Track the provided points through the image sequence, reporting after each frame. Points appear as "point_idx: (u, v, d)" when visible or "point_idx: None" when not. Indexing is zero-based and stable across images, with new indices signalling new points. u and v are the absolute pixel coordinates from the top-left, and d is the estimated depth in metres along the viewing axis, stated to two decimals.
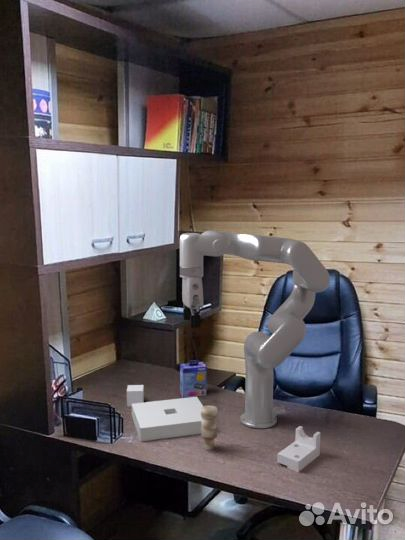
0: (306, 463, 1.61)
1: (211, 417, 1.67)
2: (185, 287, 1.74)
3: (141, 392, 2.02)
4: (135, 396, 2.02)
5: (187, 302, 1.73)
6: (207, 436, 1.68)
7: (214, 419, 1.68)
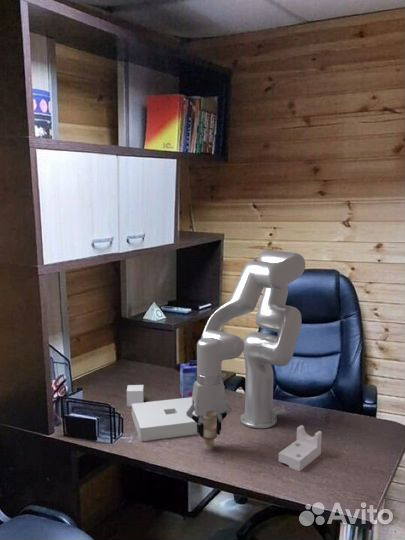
0: (307, 462, 1.61)
1: (211, 417, 1.67)
2: (216, 395, 1.66)
3: (141, 392, 2.02)
4: (135, 396, 2.02)
5: (220, 408, 1.68)
6: (207, 436, 1.68)
7: (214, 419, 1.68)
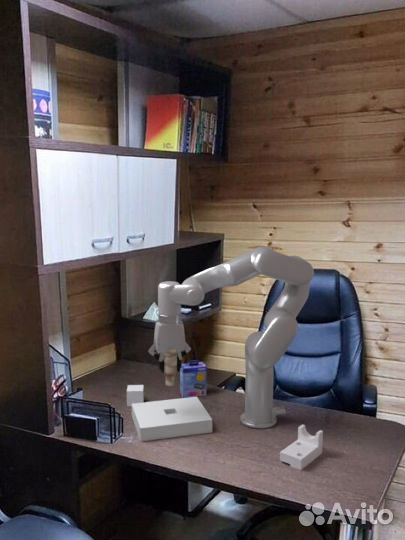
0: (309, 461, 1.62)
1: (171, 355, 1.81)
2: (176, 333, 1.81)
3: (141, 392, 2.02)
4: (135, 396, 2.02)
5: (180, 346, 1.82)
6: (168, 372, 1.83)
7: (174, 356, 1.82)
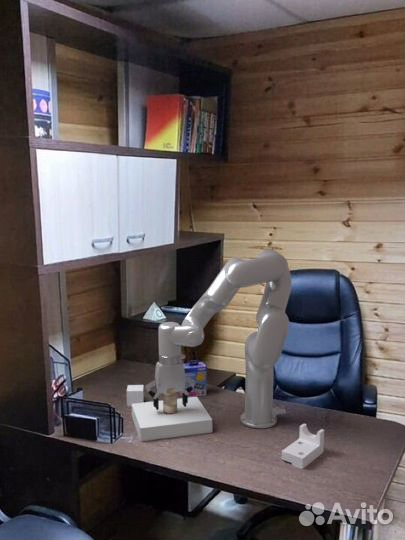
0: (310, 460, 1.62)
1: (171, 394, 1.84)
2: (176, 374, 1.83)
3: (141, 392, 2.02)
4: (135, 396, 2.02)
5: (180, 386, 1.85)
6: (168, 411, 1.85)
7: (174, 396, 1.85)
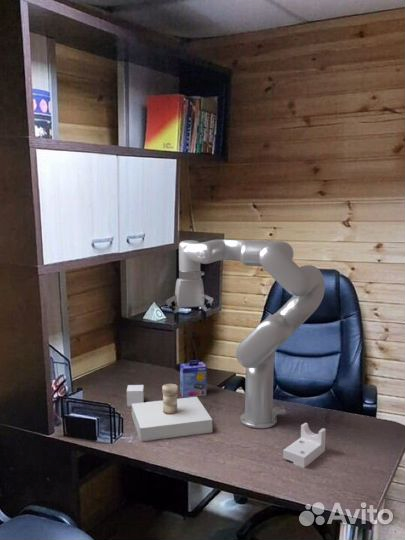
0: (312, 459, 1.63)
1: (171, 394, 1.84)
2: (195, 289, 1.93)
3: (141, 392, 2.02)
4: (135, 396, 2.02)
5: (199, 301, 1.94)
6: (168, 411, 1.85)
7: (174, 396, 1.85)
